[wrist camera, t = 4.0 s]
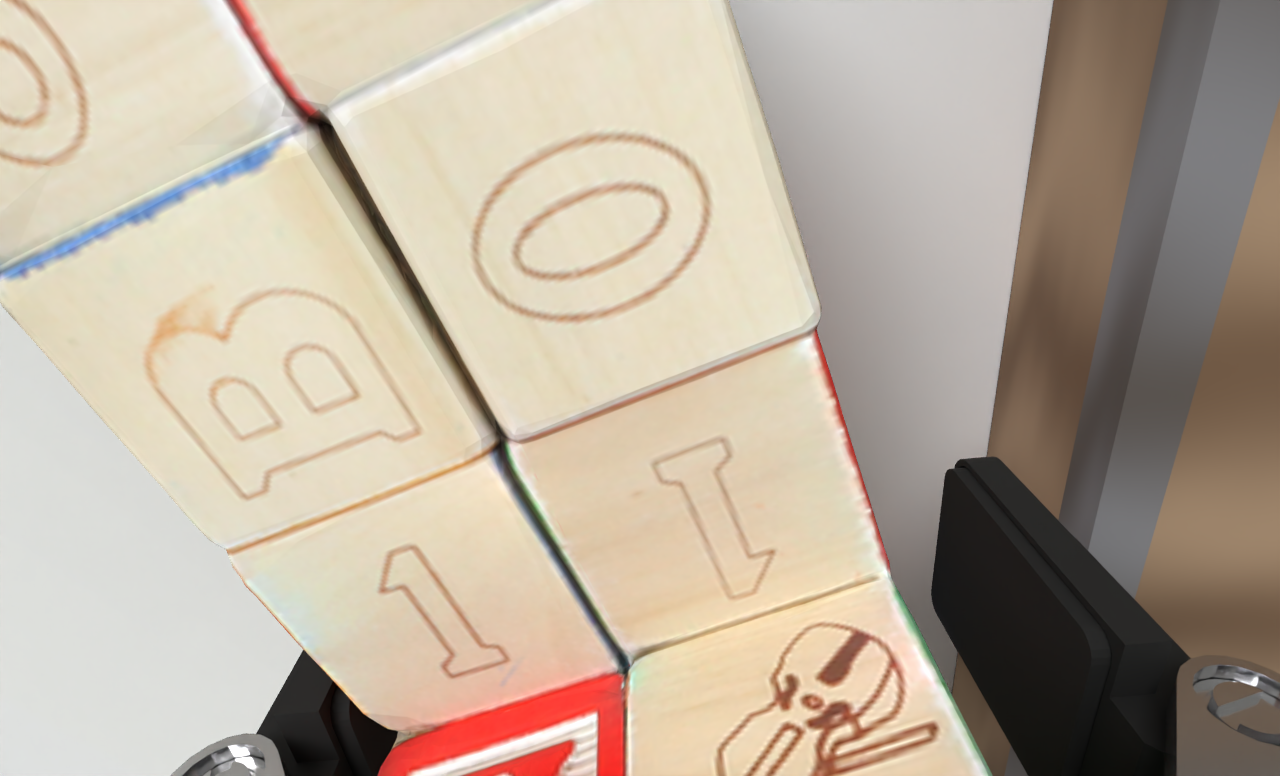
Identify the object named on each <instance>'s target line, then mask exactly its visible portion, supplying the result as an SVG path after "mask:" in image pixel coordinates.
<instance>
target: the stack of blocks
mask: <svg viewBox="0 0 1280 776" xmlns="http://www.w3.org/2000/svg"><path fill="white" fill-rule="evenodd" d="M0 303H1V305H2V306H3V308H4V309H5V310H6V311H7V312H8V313H9V314H10V316H11V317H12V318H13V319H14V320H15V321H16V322H17V323H18V324H19V325H20V327H21V328H22V329H23V330H24V331H25V332H26V333H27V334H28V335H29V336H30V338H31V339H32V340H33V341H34V342H35V343H36V344H37V346H38V347H39V348H40V349H41V350H42V351H43V352H44V354H45V355H46V356H47V357H48V358H49V359H50V361H51V362H52V363H53V364H54V365H55V366H56V367H57V369H58V370H59V371H60V372H61V373H62V374H63V375H64V377H65V378H66V379H67V380H68V381H69V382H70V384H71V385H72V386H73V387H74V388H75V389H76V390H77V392H78V393H79V394H80V395H81V396H82V397H83V398H84V400H85V401H86V402H87V403H88V404H89V405H90V407H91V408H92V409H93V410H94V411H95V412H96V413H97V415H98V416H99V417H100V418H101V419H102V420H103V421H104V423H105V424H106V425H107V426H108V427H109V428H110V429H111V430H112V432H113V433H114V434H115V435H116V436H117V437H118V438H119V439H120V441H121V442H122V443H123V444H124V445H125V446H126V447H127V448H128V450H129V451H130V452H131V453H132V454H133V455H134V456H135V457H136V459H137V460H138V461H139V462H140V463H141V464H142V465H143V466H144V468H145V469H146V470H147V471H148V472H149V473H150V474H151V475H152V477H153V478H154V479H155V480H156V481H157V482H158V483H159V484H160V486H161V487H162V488H163V489H164V490H165V491H166V492H167V494H168V495H169V496H170V497H171V498H172V499H173V501H174V502H175V503H176V504H177V505H178V506H179V508H180V509H181V510H182V511H183V512H184V513H185V515H186V516H187V517H188V518H189V519H190V520H191V522H192V523H193V524H194V525H195V526H196V527H197V528H198V529H199V530H200V531H201V532H202V533H203V534H204V535H205V536H206V537H207V538H208V539H209V540H210V541H211V542H213V543H215V544H217V545H218V546H220V547H222V548H224V549H226V551H227V553H228V556H229V558H230V561H231V563H232V566H233V568H234V569H235V571H236V572H237V573H238V575H239V576H240V577H241V579H242V581H243V582H244V584H245V586H246V587H247V588H248V589H249V590H250V591H251V592H252V593H253V594H254V595H255V596H256V597H257V598H258V599H259V600H260V601H261V602H262V604H263V605H264V606H265V607H266V608H267V609H268V610H269V611H270V613H271V614H272V615H273V616H274V617H275V618H276V619H277V621H278V622H279V623H280V624H281V625H282V626H283V627H284V628H285V630H286V631H287V632H288V633H289V634H290V635H291V636H292V638H293V639H294V640H295V641H296V642H297V643H298V644H299V645H300V646H301V647H302V648H303V649H304V650H305V651H306V653H307V654H308V655H309V656H310V657H311V658H312V659H313V660H314V661H315V662H316V663H317V664H318V665H319V666H320V667H321V668H322V669H323V670H324V671H325V672H326V674H327V675H328V676H329V677H330V678H331V679H332V680H333V681H334V682H335V683H336V684H337V685H338V686H339V687H340V689H341V690H342V691H343V692H344V693H345V694H346V695H347V696H348V697H349V698H350V700H351V701H352V702H353V703H354V704H355V705H356V706H357V707H358V708H359V710H360V711H361V712H362V713H363V714H364V715H366V716H367V717H369V718H371V719H372V720H374V721H376V722H377V723H379V724H380V725H382V726H384V727H385V728H387V729H391V730H396V731H398V734H397V739H396V741H395V743H394V745H393V748H392V750H391V751H390V753H389V755H388V756H387V758H386V759H385V761H384V763H383V764H382V766H381V768H380V770H379V773H378V776H992V773H991V771H990V769H989V767H988V765H987V763H986V761H985V759H984V757H983V755H982V754H981V752H980V750H979V748H978V746H977V744H976V742H975V740H974V738H973V736H972V734H971V732H970V730H969V728H968V726H967V724H966V722H965V720H964V718H963V716H962V714H961V712H960V710H959V708H958V706H957V704H956V702H955V700H954V699H953V697H952V695H951V693H950V691H949V689H948V687H947V685H946V683H945V681H944V679H943V677H942V675H941V673H940V671H939V669H938V667H937V665H936V663H935V661H934V659H933V657H932V655H931V653H930V650H929V648H928V646H927V644H926V642H925V640H924V638H923V636H922V634H921V632H920V630H919V628H918V626H917V624H916V622H915V620H914V619H913V617H912V615H911V613H910V611H909V609H908V608H907V606H906V604H905V602H904V600H903V599H902V597H901V595H900V593H899V591H898V590H897V588H896V586H895V584H894V582H893V580H892V579H891V573H890V565H889V560H888V557H887V554H886V552H885V549H884V545H883V542H882V539H881V536H880V533H879V529H878V526H877V523H876V520H875V516H874V513H873V510H872V507H871V503H870V500H869V497H868V494H867V491H866V488H865V484H864V481H863V478H862V475H861V472H860V468H859V465H858V462H857V459H856V456H855V453H854V449H853V446H852V443H851V440H850V437H849V434H848V430H847V427H846V424H845V420H844V417H843V414H842V410H841V407H840V404H839V400H838V397H837V394H836V390H835V387H834V384H833V381H832V377H831V374H830V371H829V368H828V365H827V362H826V359H825V356H824V353H823V350H822V346H821V343H820V340H819V337H818V334H817V330H816V328H817V325H818V323H819V320H820V317H821V304H820V301H819V297H818V294H817V290H816V287H815V283H814V280H813V276H812V273H811V270H810V266H809V263H808V259H807V256H806V252H805V249H804V245H803V242H802V238H801V235H800V231H799V228H798V224H797V221H796V218H795V214H794V211H793V207H792V204H791V200H790V197H789V193H788V190H787V186H786V183H785V179H784V176H783V172H782V169H781V165H780V162H779V159H778V156H777V152H776V149H775V146H774V143H773V140H772V137H771V133H770V130H769V127H768V124H767V121H766V118H765V114H764V111H763V108H762V105H761V102H760V99H759V95H758V92H757V89H756V86H755V83H754V80H753V76H752V73H751V70H750V67H749V64H748V61H747V57H746V54H745V51H744V48H743V45H742V42H741V38H740V35H739V32H738V29H737V26H736V23H735V19H734V16H733V13H732V10H731V7H730V4H729V0H0Z"/></svg>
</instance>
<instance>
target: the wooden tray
mask: <svg viewBox="0 0 1280 776" xmlns="http://www.w3.org/2000/svg"><path fill="white" fill-rule="evenodd" d="M992 456H993V457H997V458H999V459H1000V460H1001V461H1002V462H1003V463H1004V464H1005V465H1006V466H1007V467H1008V468H1009V469H1010V470H1011V471H1012V472H1013V473H1014V474H1015V475H1016V477H1017V478H1018V479H1019V480H1020V481H1021V482H1022V483H1023V484H1024V485H1025V486H1026V487H1027V488H1028V489H1029V490H1030V491H1031V492H1032V493H1033V494H1034V495H1035V496H1036V497H1037V499H1038V500H1039V501H1040V502H1041V503H1042V504H1043V505H1044V506H1045V507H1046V508H1047V509H1048V510H1049V511H1050V512H1051V513H1052V514H1053V515H1054V516H1055V517H1056V518H1057V519H1058V521H1059V522H1060V523H1061V524H1062V525H1063V526H1064V527H1065V528H1066V529H1067V530H1068V531H1069V532H1070V533H1071V534H1072V535H1073V536H1074V537H1075V538H1076V539H1077V540H1078V541H1079V542H1080V543H1081V544H1082V545H1083V546H1084V547H1085V548H1086V549H1087V550H1088V551H1089V552H1090V553H1091V554H1092V555H1093V556H1094V557H1095V559H1096V560H1097V561H1098V562H1099V563H1100V564H1101V565H1102V566H1103V567H1104V568H1105V569H1106V570H1107V571H1108V572H1109V573H1110V574H1111V575H1112V576H1113V577H1114V578H1115V579H1116V581H1117V582H1118V583H1119V584H1120V585H1121V586H1122V587H1123V588H1124V589H1125V590H1126V591H1127V592H1128V593H1129V594H1130V595H1131V596H1132V597H1133V598H1134V599H1135V600H1136V601H1137V602H1138V604H1139V605H1140V606H1141V607H1142V608H1143V609H1144V610H1145V611H1146V612H1147V613H1148V614H1149V615H1150V616H1151V617H1152V618H1153V619H1154V620H1155V621H1156V622H1157V623H1158V624H1159V625H1160V627H1161V628H1162V629H1163V630H1164V631H1165V632H1166V633H1167V634H1168V635H1169V636H1170V637H1171V638H1172V639H1173V640H1174V641H1175V642H1176V643H1177V644H1178V645H1179V646H1180V647H1181V649H1182V650H1183V651H1184V652H1185V653H1186V654H1187V655H1188V656H1189V657H1190V658H1195V657H1200V656H1204V655H1218V656H1229V657H1233V658H1238V659H1242V660H1247V661H1250V662H1253V663H1255V664H1258V665H1260V666H1263V667H1266V668H1268V669H1271V670H1273V671H1275V672H1277V673H1279V674H1280V0H1054V3H1053V10H1052V17H1051V24H1050V31H1049V37H1048V44H1047V51H1046V58H1045V65H1044V71H1043V78H1042V85H1041V92H1040V99H1039V105H1038V112H1037V119H1036V126H1035V133H1034V139H1033V146H1032V153H1031V160H1030V167H1029V173H1028V180H1027V187H1026V194H1025V201H1024V208H1023V214H1022V221H1021V228H1020V235H1019V242H1018V248H1017V255H1016V262H1015V269H1014V276H1013V282H1012V289H1011V296H1010V303H1009V310H1008V316H1007V323H1006V330H1005V337H1004V344H1003V350H1002V357H1001V364H1000V371H999V378H998V384H997V391H996V398H995V405H994V412H993V418H992V425H991V432H990V439H989V446H988V452H987V457H992ZM952 697H953V699H954V700H955V702H956V704H957V706H958V708H959V710H960V712H961V714H962V716H963V718H964V720H965V722H966V724H967V726H968V728H969V730H970V732H971V734H972V736H973V738H974V740H975V742H976V744H977V746H978V748H979V750H980V752H981V754H982V755H983V757H984V759H985V761H986V763H987V765H988V767H989V769H990V771H991V773H992V776H1028V775H1027V773H1026V771H1025V769H1024V768H1023V766H1022V764H1021V762H1020V761H1019V759H1018V757H1017V755H1016V753H1015V752H1014V750H1013V748H1012V746H1011V745H1010V743H1009V741H1008V739H1007V738H1006V736H1005V734H1004V732H1003V731H1002V729H1001V727H1000V725H999V723H998V722H997V720H996V718H995V716H994V715H993V713H992V711H991V709H990V708H989V706H988V704H987V702H986V700H985V699H984V697H983V695H982V693H981V692H980V690H979V688H978V686H977V685H976V683H975V681H974V679H973V678H972V676H971V674H970V672H969V670H968V669H967V667H966V665H965V663H964V662H963V660H962V658H961V656H960V655H959V653H958V657H957V663H956V670H955V677H954V684H953V691H952Z"/></svg>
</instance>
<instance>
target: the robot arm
mask: <svg viewBox="0 0 1280 776" xmlns="http://www.w3.org/2000/svg"><path fill="white" fill-rule="evenodd" d="M931 596H932V602H933V606H934V609H935V612H936V614H937V616H938V617H939V619H940V621H941V623H942V625H943V626H944V628H945V630H946V632H947V633H948V635H949V637H950V639H951V640H952V642H953V644H954V646H955V647H956V649H957V651H958V653H959V655H960V656H961V658H962V660H963V662H964V663H965V665H966V667H967V669H968V670H969V672H970V674H971V676H972V678H973V679H974V681H975V683H976V685H977V686H978V688H979V690H980V692H981V693H982V695H983V697H984V699H985V700H986V702H987V704H988V706H989V708H990V709H991V711H992V713H993V715H994V716H995V718H996V720H997V722H998V723H999V725H1000V727H1001V729H1002V731H1003V732H1004V734H1005V736H1006V738H1007V739H1008V741H1009V743H1010V745H1011V746H1012V748H1013V750H1014V752H1015V753H1016V755H1017V757H1018V759H1019V761H1020V762H1021V764H1022V766H1023V768H1024V769H1025V771H1026V773H1027V775H1028V776H1280V674H1279V673H1277V672H1275V671H1273V670H1271V669H1268V668H1266V667H1263V666H1260V665H1258V664H1255V663H1253V662H1250V661H1247V660H1242V659H1238V658H1233V657H1229V656H1218V655H1204V656H1200V657H1195V658H1190V657H1189V656H1188V655H1187V654H1186V653H1185V652H1184V651H1183V650H1182V649H1181V647H1180V646H1179V645H1178V644H1177V643H1176V642H1175V641H1174V640H1173V639H1172V638H1171V637H1170V636H1169V635H1168V634H1167V633H1166V632H1165V631H1164V630H1163V629H1162V628H1161V627H1160V625H1159V624H1158V623H1157V622H1156V621H1155V620H1154V619H1153V618H1152V617H1151V616H1150V615H1149V614H1148V613H1147V612H1146V611H1145V610H1144V609H1143V608H1142V607H1141V606H1140V605H1139V604H1138V602H1137V601H1136V600H1135V599H1134V598H1133V597H1132V596H1131V595H1130V594H1129V593H1128V592H1127V591H1126V590H1125V589H1124V588H1123V587H1122V586H1121V585H1120V584H1119V583H1118V582H1117V581H1116V579H1115V578H1114V577H1113V576H1112V575H1111V574H1110V573H1109V572H1108V571H1107V570H1106V569H1105V568H1104V567H1103V566H1102V565H1101V564H1100V563H1099V562H1098V561H1097V560H1096V559H1095V557H1094V556H1093V555H1092V554H1091V553H1090V552H1089V551H1088V550H1087V549H1086V548H1085V547H1084V546H1083V545H1082V544H1081V543H1080V542H1079V541H1078V540H1077V539H1076V538H1075V537H1074V536H1073V535H1072V534H1071V533H1070V532H1069V531H1068V530H1067V529H1066V528H1065V527H1064V526H1063V525H1062V524H1061V523H1060V522H1059V521H1058V519H1057V518H1056V517H1055V516H1054V515H1053V514H1052V513H1051V512H1050V511H1049V510H1048V509H1047V508H1046V507H1045V506H1044V505H1043V504H1042V503H1041V502H1040V501H1039V500H1038V499H1037V497H1036V496H1035V495H1034V494H1033V493H1032V492H1031V491H1030V490H1029V489H1028V488H1027V487H1026V486H1025V485H1024V484H1023V483H1022V482H1021V481H1020V480H1019V479H1018V478H1017V477H1016V475H1015V474H1014V473H1013V472H1012V471H1011V470H1010V469H1009V468H1008V467H1007V466H1006V465H1005V464H1004V463H1003V462H1002V461H1001V460H1000V459H999V458H997V457H993V456H992V457H981V458H970V459H960V460H959V461H957V463H956V465H955V469H949V470H947V472H946V474H945V480H944V488H943V497H942V505H941V514H940V522H939V530H938V539H937V547H936V556H935V564H934V572H933V581H932V589H931ZM397 734H398V731H396V730H391V729H387V728H385V727H384V726H382V725H380V724H379V723H377V722H376V721H374V720H372V719H371V718H369V717H367V716H366V715H364V714H363V713H362V712H361V711H360V710H359V708H358V707H357V706H356V705H355V704H354V703H353V702H352V701H351V700H350V698H349V697H348V696H347V695H346V694H345V693H344V692H343V691H342V690H341V689H340V687H339V686H338V685H337V684H336V683H335V682H334V681H333V680H332V679H331V678H330V677H329V676H328V675H327V674H326V672H325V671H324V670H323V669H322V668H321V667H320V666H319V665H318V664H317V663H316V662H315V661H314V660H313V659H312V658H311V657H310V656H309V655H308V654H307V653H306V651H305V650H303V651H302V653H301V655H300V657H299V659H298V660H297V662H296V664H295V666H294V667H293V669H292V671H291V673H290V675H289V676H288V678H287V680H286V682H285V684H284V685H283V687H282V689H281V691H280V692H279V694H278V696H277V698H276V700H275V701H274V703H273V705H272V707H271V708H270V710H269V712H268V714H267V716H266V717H265V719H264V721H263V723H262V725H261V726H260V728H259V730H258V732H257V733H256V734H241V735H236V736H232V737H227V738H225V739H223V740H220V741H218V742H216V743H214V744H211V745H209V746H207V747H206V748H204V749H203V750H201V751H200V752H198V753H197V754H195V755H193V756H192V757H190V758H189V759H188V760H187V761H186V762H185V763H183V764H182V765H181V766H180V767H179V768H178V769H177V770H176V771H175V772H173V773H172V775H171V776H378V773H379V770H380V768H381V766H382V764H383V763H384V761H385V759H386V758H387V756H388V755H389V753H390V751H391V750H392V748H393V745H394V743H395V741H396V739H397Z"/></svg>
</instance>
